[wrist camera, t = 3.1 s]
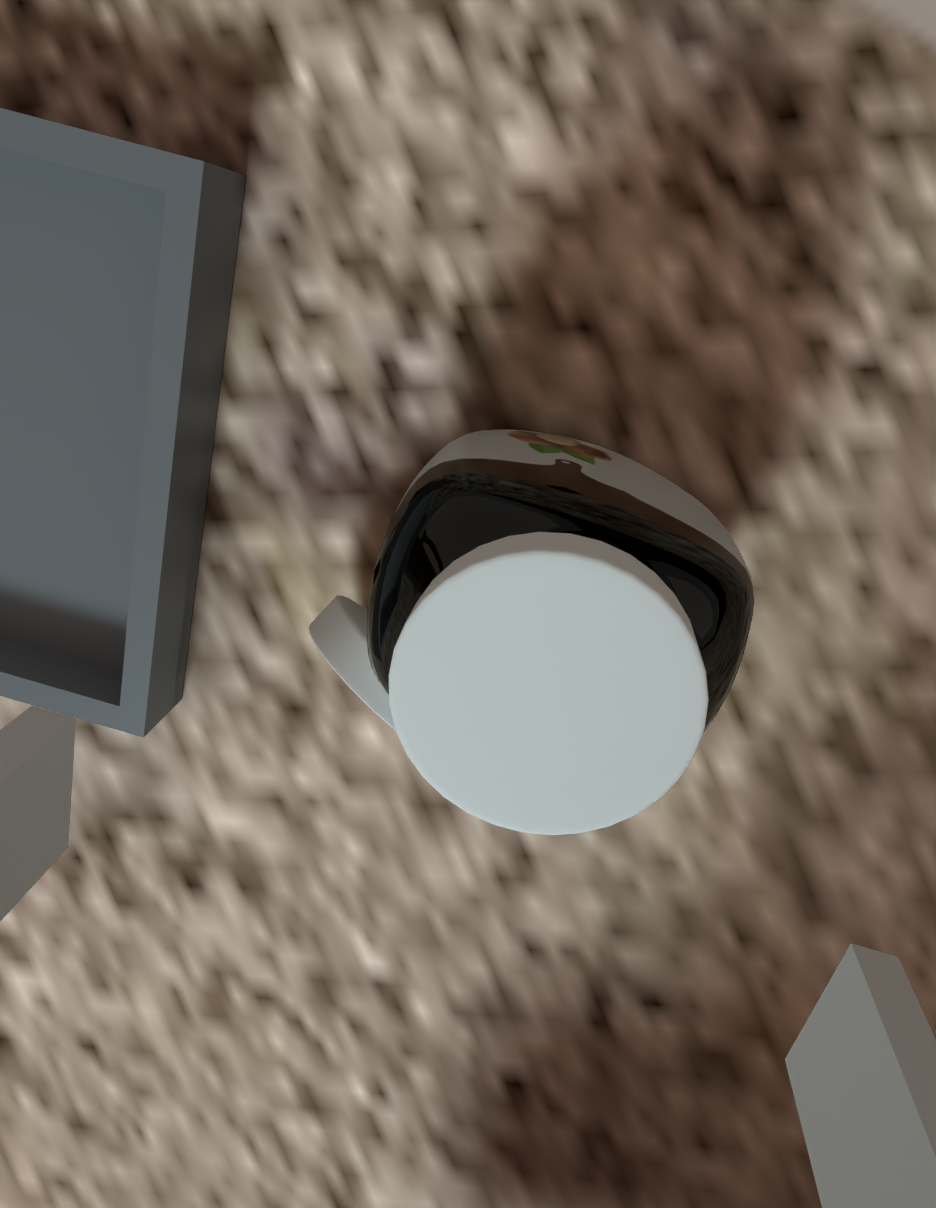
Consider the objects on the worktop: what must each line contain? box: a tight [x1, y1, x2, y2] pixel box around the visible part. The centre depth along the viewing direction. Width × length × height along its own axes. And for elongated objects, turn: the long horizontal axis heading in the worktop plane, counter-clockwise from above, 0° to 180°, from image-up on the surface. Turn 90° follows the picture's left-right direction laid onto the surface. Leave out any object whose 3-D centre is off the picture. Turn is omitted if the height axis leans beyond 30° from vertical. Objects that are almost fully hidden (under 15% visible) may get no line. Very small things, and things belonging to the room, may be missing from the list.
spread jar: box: [309, 429, 754, 835], centre depth 23 cm, size 12×11×12 cm
